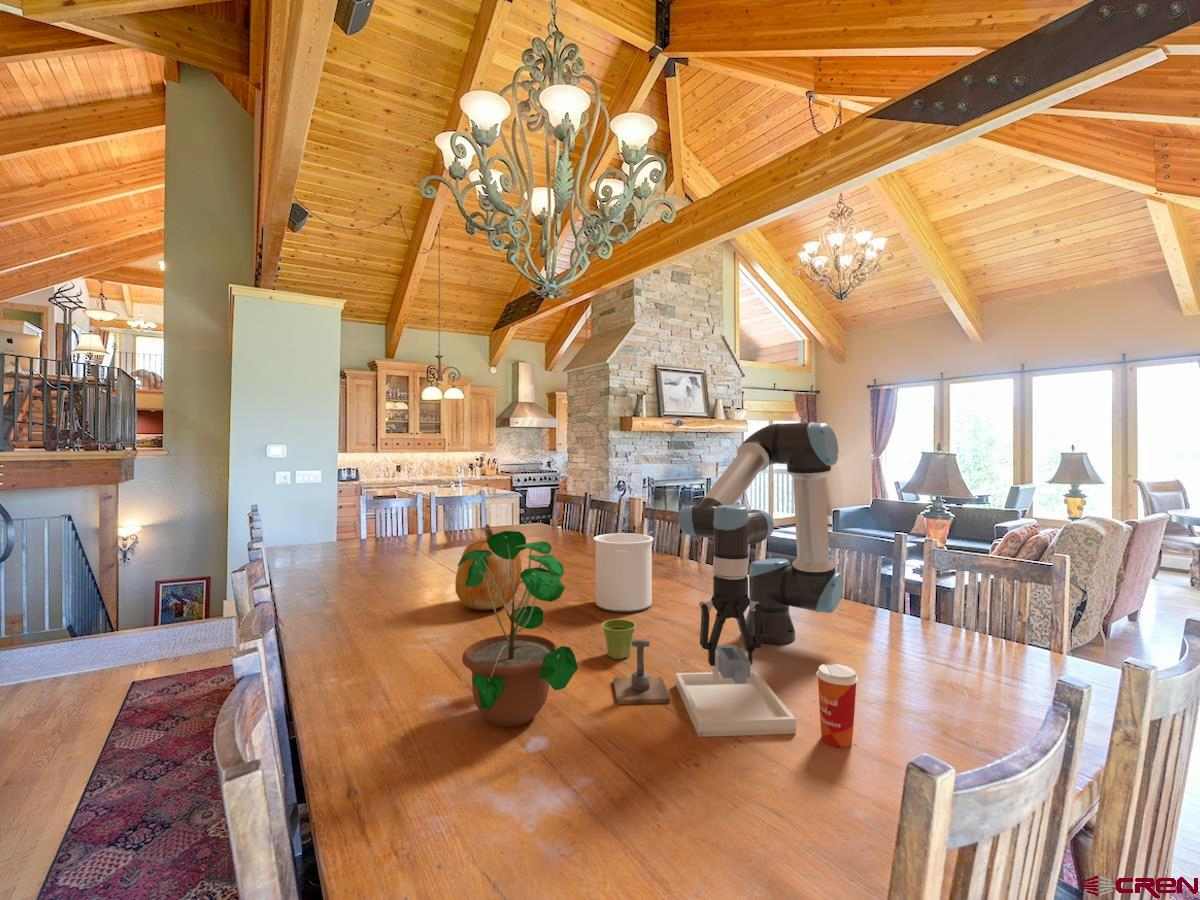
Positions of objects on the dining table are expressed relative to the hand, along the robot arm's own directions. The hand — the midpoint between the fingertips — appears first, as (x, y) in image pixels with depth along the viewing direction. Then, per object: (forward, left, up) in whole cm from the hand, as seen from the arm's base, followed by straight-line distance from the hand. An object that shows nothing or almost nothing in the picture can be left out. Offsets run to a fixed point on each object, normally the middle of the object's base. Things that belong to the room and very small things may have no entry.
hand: (730, 679), depth 126 cm
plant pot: (+22, -32, -7) cm, 39 cm away
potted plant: (+45, 0, -7) cm, 45 cm away
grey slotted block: (0, +1, +2) cm, 3 cm away
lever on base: (+19, -9, -6) cm, 22 cm away
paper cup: (-17, +15, -7) cm, 24 cm away
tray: (0, 0, -6) cm, 6 cm away
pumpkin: (+64, -82, -7) cm, 104 cm away
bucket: (+16, -80, -7) cm, 82 cm away
